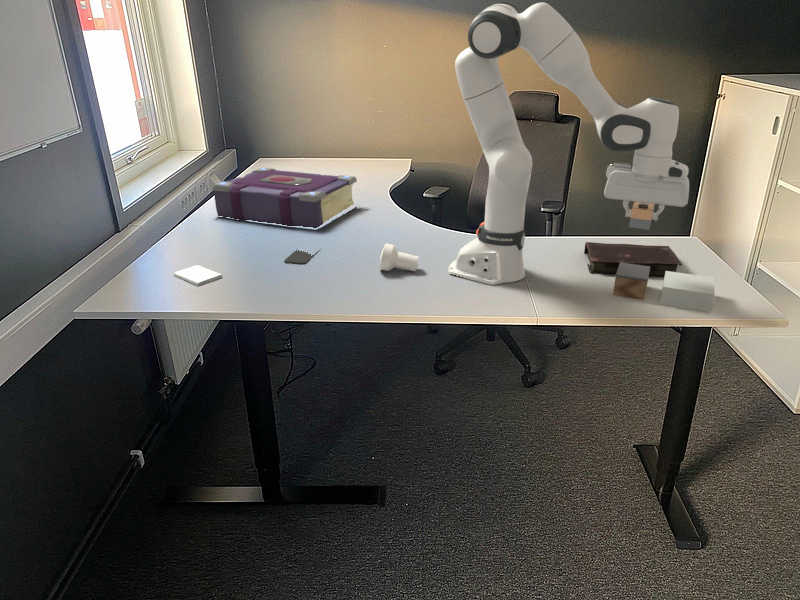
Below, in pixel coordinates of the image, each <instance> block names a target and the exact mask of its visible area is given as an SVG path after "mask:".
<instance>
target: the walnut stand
mask: <svg viewBox="0 0 800 600" xmlns="http://www.w3.org/2000/svg"><path fill="white" fill-rule="evenodd" d="M649 272H650V266H643V265H636V264H628V263H621V262H620V264H619V267H618V270H617V273H616V275H615V278H614V284H613V291H612V296H615V297H621V298H627V299H635V300H640V301H645V298H646V291H647V287H648V282H649V278H650V277H649Z"/></svg>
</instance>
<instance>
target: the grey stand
mask: <svg viewBox="0 0 800 600" xmlns="http://www.w3.org/2000/svg"><path fill="white" fill-rule="evenodd" d="M662 282H663V283H662V287H661V288H662V289H661V293H660V301H659V302H660V303H659V304H660V305H663V306H667V307H675V308H680V309H681V308H682V309H686V310H693V311H700V312H705V313H706V312H708V313H711V312H712V308H713V303H714V299H715V291H716V290H715V277H714V276H713V277H712V276H708V275H707V276H706V275H699V274H691V273H684V272H677V271H676V272H671V271H665V276H664V278H663V281H662Z"/></svg>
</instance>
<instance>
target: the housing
mask: <svg viewBox="0 0 800 600" xmlns="http://www.w3.org/2000/svg"><path fill="white" fill-rule="evenodd" d="M654 209H655V204H652V203H643V202H635V201H633V204H632V207H631V210H632V211H631V217H630V218H629V222H628V228H632V229H641V230H647V231H649V230H650V228H651V223H652V220H651V218H652V214H653V212H654Z"/></svg>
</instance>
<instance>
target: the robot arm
mask: <svg viewBox="0 0 800 600" xmlns="http://www.w3.org/2000/svg"><path fill="white" fill-rule="evenodd" d="M467 41H468V42H467V43H468V46H469V47H467V48H465V49H464V50H462V51H461V52H460V53H459V54H458V55H457V57H456V59H455V62H454V68H455V69H454V70H455V75H456V79H457V84H458V87H459V91H460V93H461V97H462V100H463V102H464V105H465V107H466V110H467V112H468V115H469V118H470V120H471V123H472V126H473V127H474V128H473V129H474V131H475V134H476V137H477V139H478V142H479V144H480V146H481V150H482V152H483V155H484V159H485V160H486V163H487V165H488V170H489V174H488V183H487V191H486V192H487V193H486V197H485V207H484V209H485V210H484V221H483V222H481V223H480V224H479V227H478V228H477V230H476V231H475V232H476V233H475V235H476V237H475V238H474V239H472V240H471V241H469V242H467V243H466V244H464V245H463V246H462V247H461V248H460V250H459V252H458V253H457V256H456V259H455V260H453V261H452V262H451V263H450V264H449V266H448V270H447V271H448V274H449V273H450V274H449V275H451V274H453V275H452V276H454V275H456V276H455V277H458V276H460V277H459V278H462V277H463V279H466V278H467V280H470V281H475V282H479V283H483V284H487V285H491V286H495V285H500V284H504V283H505V284H506V283H514V282H518V281H520V280H523V279H524V278H525V277H526V270H525V266H524V258H523V255H524V253H523V248H524V245H525V240H526V239H525V237H526V233H525V232H526V228H525V227H524V225H525V214H526V202H527V197H528V193H529V187H530V182H531V175H532V170H533V158H532V157H533V156H532V154H531V152H530V151H529V149H528V148H527V147H526V144H525V143H524V141H523V138H522V135H521V132H520V129H519V125H518V121H517V118H516V114H515V110H514V108H513V104H512V102H511V100H510V96H509V94H508V91H507V88H506V85H505V83H504V79H503V77H502V74H501V71H500V67H499V60H500V59H499V58H500V57H501V56H503V55H505V54H507V53H510V52H512V51H515V50H516V49H518V48H521V49H523V50H524V51H525V52H526V53H527V54H528V55H529V56H530V57H531V59H532V60H533V61H534V63H536V65H537V66H538V68H539V69H540V70H541V71H542V72H543V73H544V74H545V75H546V76H547V77H548V78H549V79H550V80H552V81H553V82H554V83H555V84H557V85H560V86H562V87H564V88H566V89H568V90H569V91H570V92H571V93H573V94H574V95H575V96H576V97H577V99H578V100H579V101H580V103H582V105H583V107H585V109H586V110H587V111H588V113H589V114H590V115H591V117H592V119H593V123H594V127H595V132H596V134H597V137H598V138H599V139H600V142H601V144H603V146H604V148H606V149H608V150H609V151H612V152H616V153H620V152H630V151H634V152H633V153H634V154H633V160H632V163H630V162H629V163H625V162H624V163H623V162H613V163H611V164H609V165H608V166H607V168H606V173H605V177H606V178H607V181H606V184H605V187H604V191H603V195H604V197H605V198H606V199H609V200H619V201H622V206H623V208H624V210H625V216H624V217H625V218H628V219H630V217H631V211H632V209H630V207H629V204H630V202H642V203H650V204H654V205H658V209H657V210H656V212H654V211H653V214H652V218H651V222H652V221H653V222H654V221H655V222H658V219H659V216H660V214H661V213H662V212H663V211H664V210H665V206H670V207H671V206H672V207H680V208H684V207H685V206H686V205H688V203H689V196H690V181H689V180H690V179H689V178H688V175H689V171H690V170H689V167H688V165H686V164H684V163H681V162H678V161H677V160H674V159H672V158H673V143H674V142H675V140H676V137H677V133H678V132H677V131H678V126H679V120H680V119H679V118H680V110H679V107H678V104H676V103H675V102H674V101H672V100H670V99H666V98H661V97H656V96H651V97H648V98H646V99H645V100H643V101H641V102H640V103H638V104H635V105H633V106H630V107H627V106H625V105H623V104H621V103H619V102H616V101H615V100H614V98H613V97H611V95H610V94H609V93H608V91H607V90H606V89H605V88H604V86H603V84H601V82H600V81H599V80H598V79H597V77H596V75H595V73H594V71H593V68H592V66H591V60H590V55H589V53H588V51H587V48H586V46H585V45H584V43H583V41H582V39H581V38H580V37H579V35H578V33H577V32H576V31H575V29H574V28H573V27H572V25H570V23H569V22H568V21H567V20H566V19H565V17H563V16H562V14H560V13H559V12H558V11H557V10H556V9H555V8H554V7H553V6H552V5H550V4H549V3H547V2H544V1H543V2H537V3H534V4H532V5H530V6H529V7H528V8H526V9H525V10H524V11H523V12H521V11H520V10H519V8H518V7H516V6H515V5H514V4H513V3H510V2H503V1H502V2H497V3H494V4H492V5H490V6H487V7H485V8H484V9H482V11H481V12H480V13H479V14H477V15H476V16H475V17H474V18H473V20H472V22H471V23H470V25H469V28H468V32H467Z"/></svg>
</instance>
